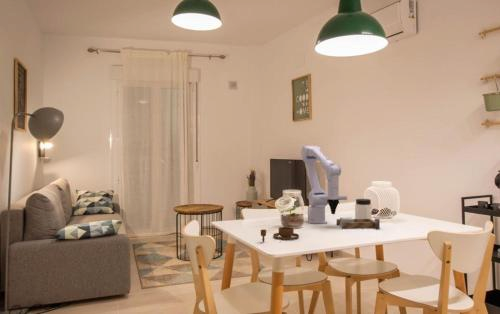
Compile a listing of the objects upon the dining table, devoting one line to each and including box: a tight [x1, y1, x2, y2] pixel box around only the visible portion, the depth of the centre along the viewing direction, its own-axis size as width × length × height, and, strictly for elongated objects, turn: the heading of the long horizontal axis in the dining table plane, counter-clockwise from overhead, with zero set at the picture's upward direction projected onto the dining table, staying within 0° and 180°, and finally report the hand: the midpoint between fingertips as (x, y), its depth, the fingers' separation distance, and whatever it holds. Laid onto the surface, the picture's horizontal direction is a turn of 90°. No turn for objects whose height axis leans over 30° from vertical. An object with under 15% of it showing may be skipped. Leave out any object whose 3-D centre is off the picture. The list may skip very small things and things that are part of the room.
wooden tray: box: [336, 218, 381, 230], centre depth 218 cm, size 19×14×5 cm
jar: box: [354, 198, 372, 220], centre depth 238 cm, size 9×8×12 cm
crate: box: [339, 216, 355, 228], centre depth 219 cm, size 6×6×4 cm
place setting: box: [260, 226, 300, 242], centre depth 191 cm, size 18×20×6 cm
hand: (333, 213), depth 218 cm, fingers closed
